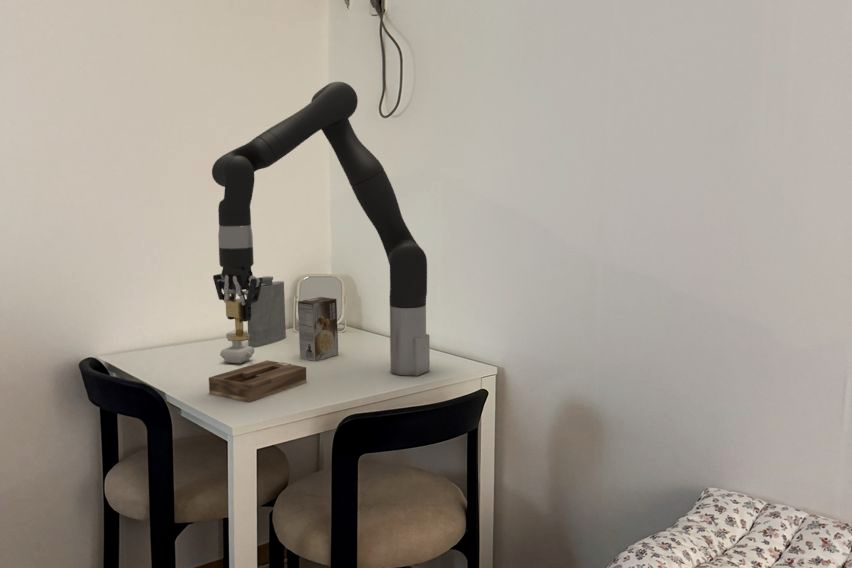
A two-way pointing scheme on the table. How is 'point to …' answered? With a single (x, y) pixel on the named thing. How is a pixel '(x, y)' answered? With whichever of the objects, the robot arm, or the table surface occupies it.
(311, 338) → the coffee box
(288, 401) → the table surface
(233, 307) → the brass keyhole peg
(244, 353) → the stamp
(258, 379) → the keyhole plate
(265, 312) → the hip flask
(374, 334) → the table surface
